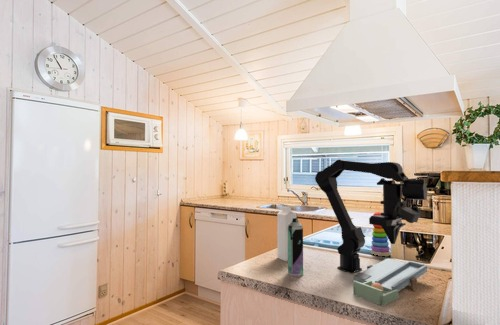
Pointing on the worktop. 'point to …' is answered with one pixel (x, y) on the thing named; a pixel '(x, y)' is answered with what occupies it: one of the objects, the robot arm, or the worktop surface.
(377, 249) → the stacking toy
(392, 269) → the grey flat rectangular piece
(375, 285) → the ball
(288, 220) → the milk
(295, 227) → the spray can
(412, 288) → the stand
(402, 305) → the worktop surface
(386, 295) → the tray
